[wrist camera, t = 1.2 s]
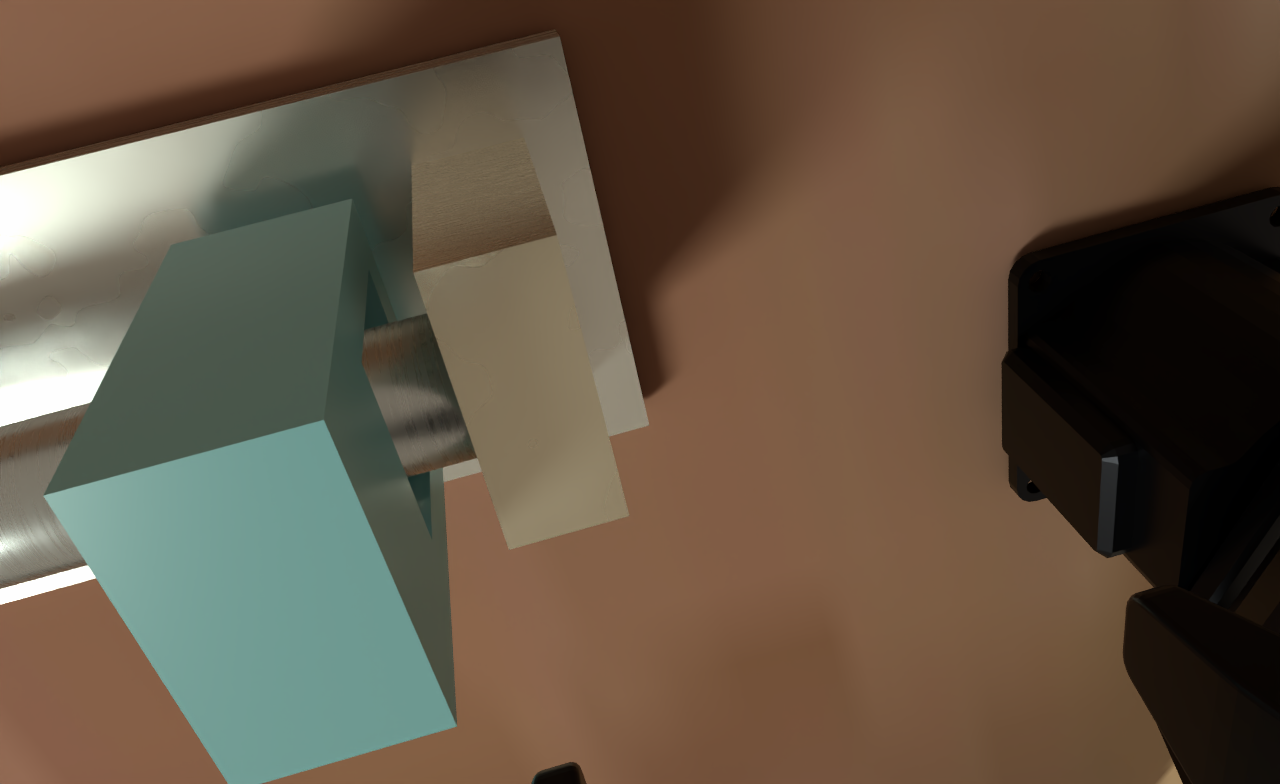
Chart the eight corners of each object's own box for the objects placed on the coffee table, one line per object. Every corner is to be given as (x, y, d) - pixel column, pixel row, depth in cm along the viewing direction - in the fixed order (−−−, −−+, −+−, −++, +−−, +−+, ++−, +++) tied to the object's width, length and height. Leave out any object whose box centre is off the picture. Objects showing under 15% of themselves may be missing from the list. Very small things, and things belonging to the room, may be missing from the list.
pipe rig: (555, 29, 18) (605, 110, 13) (643, 410, 22) (704, 569, 17) (-729, 348, 16) (-1151, 558, 12) (-371, 689, 21) (-584, 937, 16)
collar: (352, 198, 17) (323, 420, 11) (441, 442, 20) (456, 726, 14) (170, 244, 17) (42, 495, 11) (285, 484, 19) (233, 791, 13)
